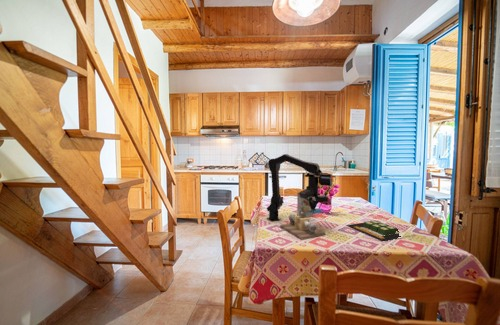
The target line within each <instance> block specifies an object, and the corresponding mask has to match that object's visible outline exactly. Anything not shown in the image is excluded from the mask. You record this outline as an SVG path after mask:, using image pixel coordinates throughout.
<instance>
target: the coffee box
mask: <svg viewBox="0 0 500 325" xmlns="http://www.w3.org/2000/svg"><path fill="white" fill-rule="evenodd" d="M300 192H301V191H299V192H297V196H296V197H297V200H296V201H297V203H296V204H297V205H296V206H297V207H296V208H297V209H296V210H297V211H296V212H297V213H296V214H297V216H301V215H299V211H310V210H311V207H310V204H309V202H308V201H307V200H306V199H304V198H301V197H300V196H299V193H300ZM304 216H306V217H308V218H311V217H314V214H313V213H312V214H305V215H304Z"/></svg>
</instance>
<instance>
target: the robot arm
mask: <svg viewBox="0 0 500 325" xmlns="http://www.w3.org/2000/svg"><path fill="white" fill-rule="evenodd" d="M285 162H287V163H290V164H292V165H295V166H297V167H299V168H302V169H303V170H304V171H305V172H307V174H305V175H304V177H305V178H307V179H308V184H307V185H306V188H305V189H303V190H301V191H299V192H300V193H299V196H300V197H301V198H304V199H306V200H307V201H308V202H309V204H310V207H311V209H317V206H318V204H319V203H328V201H329V198H328V196H326V195H320V193H319V190H320V188H321V187H320V186H324V187H332V186H333V176H332V173H328V174H327V173H323V172H322V170H321V167H320V165H319V164H318V163H315V162H312V161H311V162H310V161H305V160H302V159H300V158H298V157H294V156H292V155H289V154H288V153H285V154H282V155H281V156H279V157H275V158H270V159H269V160H268V164H267V165H268V168H269V169H268V170H269V171H270V173H271V191H272V192H271V193H272V195H271V198H270V205H268V206H267V208H266V211H267V212H268V217H267V218H266V219H267V220H269V221H271V222H277V221H280V220H281V218H279V210H280V208H281V207H283V204H284V197H283V196H281V192H280V177H279V176H280V174H279V173H280V171H281V170H280V169H281V164H283V163H285ZM319 185H320V186H319Z"/></svg>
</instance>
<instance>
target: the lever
mask: <svg viewBox="0 0 500 325" xmlns="http://www.w3.org/2000/svg"><path fill="white" fill-rule="evenodd" d="M312 213H313V215H316V214H317V215H318V214H322V213H323V210H322V208H319V207H318V208H317V207H316V208H315V209H311V210H310V211H299V215H305V214H312Z"/></svg>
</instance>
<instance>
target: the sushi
mask: <svg viewBox="0 0 500 325" xmlns="http://www.w3.org/2000/svg"><path fill="white" fill-rule="evenodd" d="M345 226H346V227H347V228H350V229H352V230H355V231H357V232H359V233H361V234H364V235H366V236H369V237H371V238H373V239H375V240H377V239H378V241H379V242H382V241H385V242H389V241H388V240H390V241H393V239H395V240H398V239H397V238H398V237H401V236H399V231H398V229H399V228H398V229H397V227H395V226H393V225H392V226H391V225H389V224H386V223H383V222H380V221H378V220H371V221H363V222H359V223H358V222H357V223H353V224H352V223H351V224H345ZM364 228H365V229H364ZM396 231H397V232H396ZM395 233H396V234H395ZM389 234H390V235H389ZM381 235H382V236H381ZM384 235H385V236H384Z"/></svg>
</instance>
